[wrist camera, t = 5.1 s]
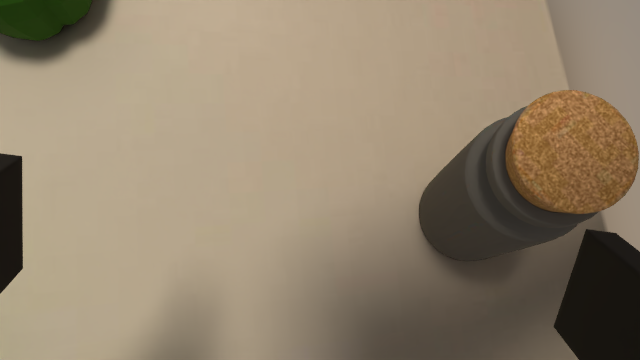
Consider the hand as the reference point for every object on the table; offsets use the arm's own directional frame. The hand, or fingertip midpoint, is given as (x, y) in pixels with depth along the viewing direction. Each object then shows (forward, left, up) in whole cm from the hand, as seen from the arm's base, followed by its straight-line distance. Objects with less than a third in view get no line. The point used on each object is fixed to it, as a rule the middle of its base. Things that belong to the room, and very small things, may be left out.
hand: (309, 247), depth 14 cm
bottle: (-10, -3, -22) cm, 24 cm away
